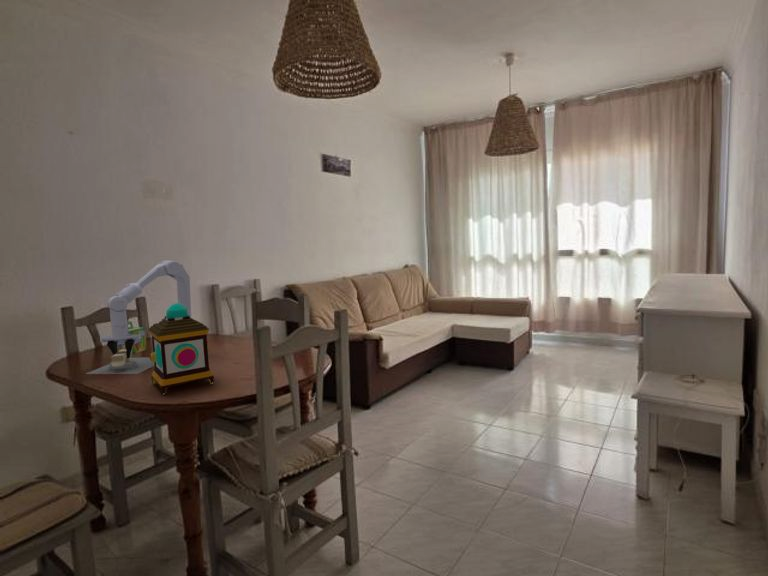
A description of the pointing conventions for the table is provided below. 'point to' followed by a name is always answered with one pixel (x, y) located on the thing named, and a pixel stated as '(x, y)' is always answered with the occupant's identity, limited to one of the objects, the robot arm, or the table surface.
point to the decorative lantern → (179, 349)
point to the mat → (142, 365)
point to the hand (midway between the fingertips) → (122, 358)
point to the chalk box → (138, 344)
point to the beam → (120, 358)
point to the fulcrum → (124, 366)
